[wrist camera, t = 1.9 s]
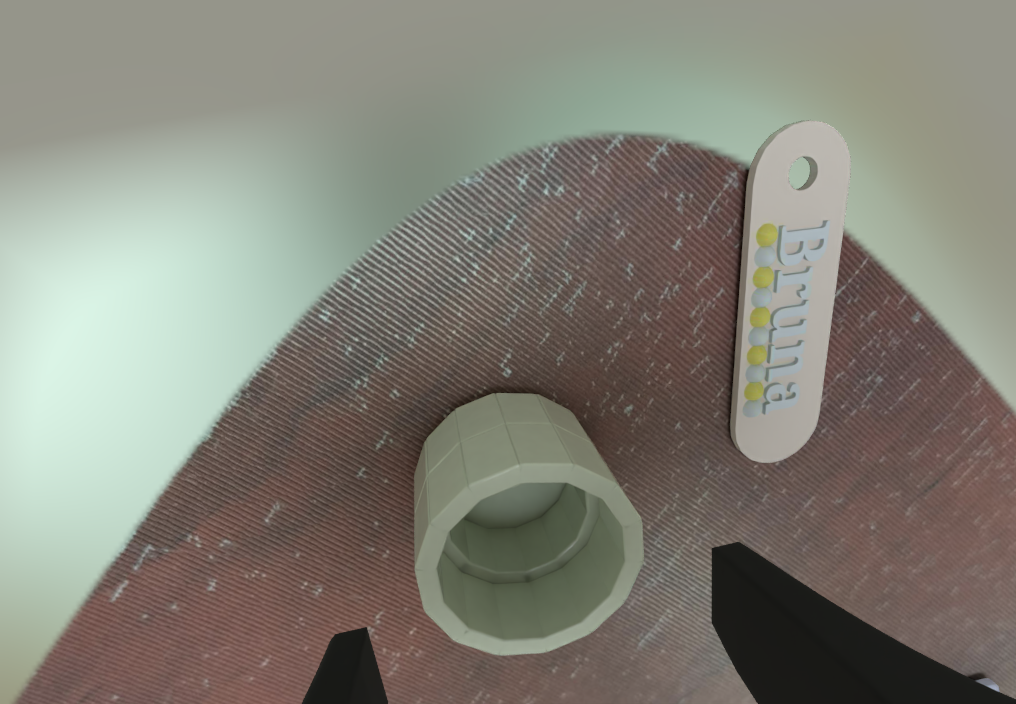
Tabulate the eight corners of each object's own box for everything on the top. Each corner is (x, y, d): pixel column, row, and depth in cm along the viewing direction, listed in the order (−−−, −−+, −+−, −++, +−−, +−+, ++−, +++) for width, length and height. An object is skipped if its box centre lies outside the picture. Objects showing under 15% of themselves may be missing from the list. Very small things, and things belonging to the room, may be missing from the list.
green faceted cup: (581, 368, 16) (638, 440, 12) (594, 521, 18) (648, 629, 14) (399, 402, 16) (395, 490, 12) (433, 556, 18) (439, 679, 14)
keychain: (764, 123, 14) (866, 115, 15) (750, 125, 15) (849, 117, 15) (738, 475, 18) (820, 459, 18) (727, 465, 18) (807, 450, 19)
